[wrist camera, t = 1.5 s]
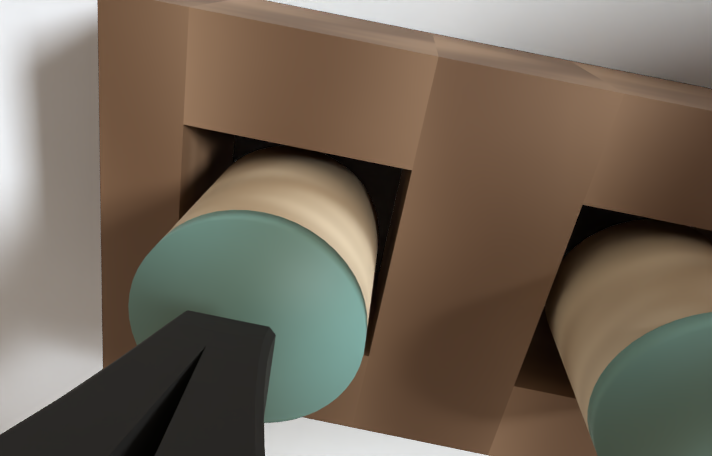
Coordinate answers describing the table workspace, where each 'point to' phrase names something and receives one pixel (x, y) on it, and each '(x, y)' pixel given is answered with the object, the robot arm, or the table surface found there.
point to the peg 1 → (274, 269)
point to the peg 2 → (638, 337)
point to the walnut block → (402, 189)
